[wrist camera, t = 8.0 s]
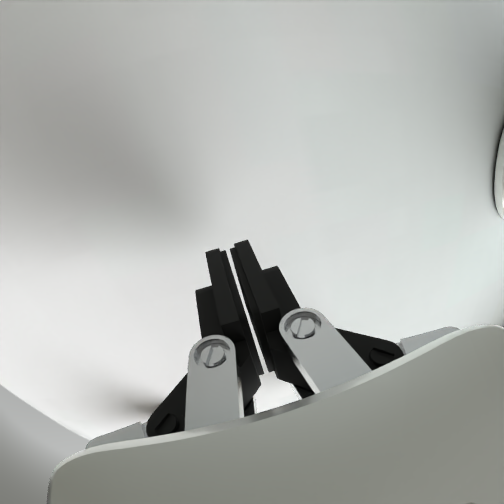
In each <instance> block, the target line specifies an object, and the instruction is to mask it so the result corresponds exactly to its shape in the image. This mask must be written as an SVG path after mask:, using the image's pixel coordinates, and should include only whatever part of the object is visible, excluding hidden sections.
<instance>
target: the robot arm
mask: <svg viewBox="0 0 504 504" xmlns="http://www.w3.org/2000/svg"><path fill="white" fill-rule="evenodd" d="M494 192H495V202H496V207H497V210H498V213H499V215H500V216H501V218H503V219H504V129H503V132H502V136H501V140H500V144H499V149H498V154H497V160H496V168H495V182H494ZM234 246H235V247H234V248H231V249H230V252H231V255H232V259H233V262H234V266H235V269H236V273H237V276H238V280H239V283H240V287H241V290H242V294H243V297H244V301H245V304H246V307H247V310H248V313H249V316H250V319H251V322H252V325H253V328H254V331H255V334H256V337H257V340H258V342H259V345H260V348H261V351H262V354H263V357H264V360H265V363H266V366H267V368H268V371H269V372H272V371H275V374H276V376H277V378H279V379H280V380H283V381H286V382H289V383H290V385H291V387H292V389H293V391H294V392H295V394H296V396H297V397H298V399H299V400H298V401H295V402H292V403H289V404H286V405H283V406H280V407H277V408H274V409H270V410H267V411H264V412H260V413H257V407H256V399H255V396H254V394H255V393H256V391H257V390H258V388H259V387H260V385H261V382H260V379H259V375H262V374H264V372H263V368H262V365H261V362H260V359H259V356H258V352H257V349H256V346H255V343H254V340H253V336H252V333H251V330H250V327H249V323H248V320H247V317H246V314H245V311H244V307H243V304H242V301H241V298H240V295H239V292H238V289H237V286H236V282H235V279H234V276H233V273H232V270H231V267H230V263H229V260H228V257H227V254H226V251H225V250H224V251H221V252H220V250H219V248H218V249H215V250H211V251H208V252H205V253H206V258H207V263H208V268H209V273H210V278H211V283H212V286H208V287H205V288H202V289H198V290H196V291H195V292H196V301H197V308H198V315H199V322H200V329H201V336H202V339H201V340H199V341H198V342H197V343H196V344H194V346H193V347H192V349H191V350H190V353H189V360H188V373H187V374H186V375H185V376H184V378H183V379H182V380H181V381H180V382H179V384H178V385H177V386H176V387H175V388H174V389H173V391H172V392H171V393H170V394H169V395H168V396H167V398H166V399H165V400H164V401H163V402H162V403H161V405H160V406H159V407H158V408H157V409H156V410H155V411H154V413H153V414H152V415H151V417H150V418H149V420H148V422H146V423H143V424H142V423H141V422H138V423H135V424H133V425H130V426H127V427H125V428H122V429H119V430H116V431H114V432H111V433H108V434H105V435H102V436H99V437H96V438H94V439H93V440H91V441H90V442H89V443H88V444H87V446H86V449H85V450H83V451H80V452H78V453H76V454H73V455H71V456H69V457H67V458H66V459H65V460H63V461H62V462H61V463H59V464H58V465H57V466H56V468H55V469H54V470H53V472H52V475H51V478H50V481H49V486H48V493H47V504H504V327H502V326H499V325H491V324H486V325H477V326H471V327H467V328H464V329H458V328H456V327H444V328H441V329H437V330H434V331H430V332H427V333H423V334H419V335H416V336H412V337H408V338H404V339H400V343H396V344H395V343H393V342H390V341H388V340H383V339H379V338H375V337H370V336H366V335H362V334H358V333H353V332H349V331H345V330H341V329H337V328H334V327H333V325H332V324H331V323H330V322H329V321H328V320H327V319H326V318H325V316H324V315H323V314H321V313H320V312H319V311H317V310H314V309H311V308H300V306H299V304H298V302H297V301H296V299H295V297H294V295H293V293H292V291H291V290H290V288H289V286H288V284H287V282H286V280H285V279H284V277H283V275H282V273H281V271H280V269H279V268H278V266H275V267H271V268H268V269H265V270H262V269H261V267H260V265H259V263H258V261H257V259H256V256H255V254H254V252H253V250H252V248H251V246H250V243H249V241H248V240H245V241H242V242H238V243H235V244H234Z"/></svg>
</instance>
